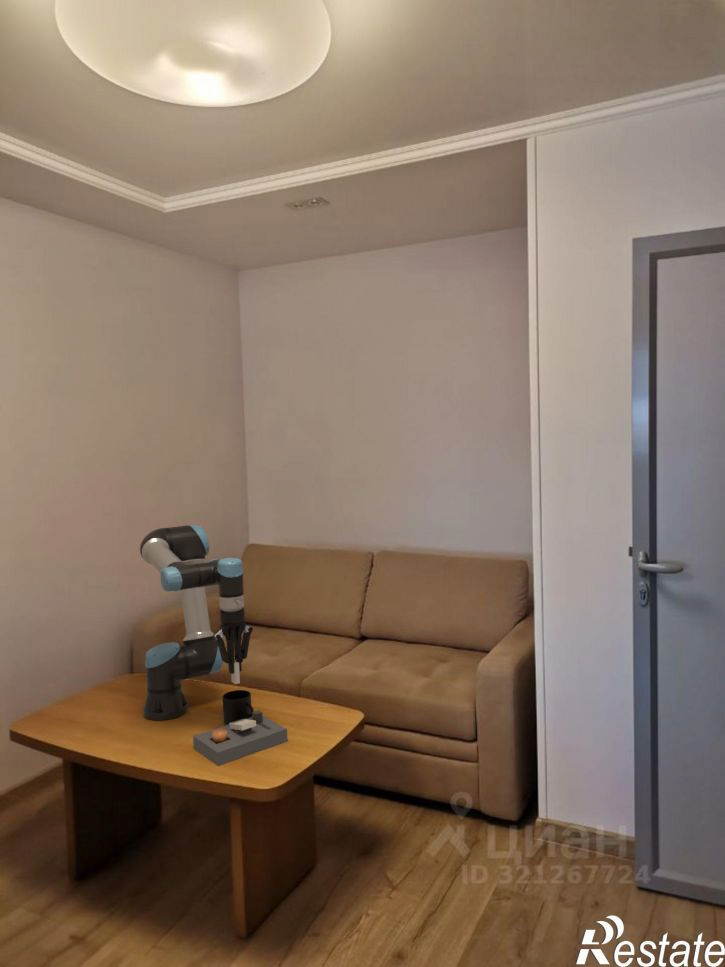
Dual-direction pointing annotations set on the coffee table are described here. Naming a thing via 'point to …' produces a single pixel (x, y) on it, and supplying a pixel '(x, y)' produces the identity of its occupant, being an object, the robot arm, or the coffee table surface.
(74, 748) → the coffee table surface
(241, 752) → the panel
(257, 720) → the slider
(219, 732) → the button
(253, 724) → the rocker
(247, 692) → the mug
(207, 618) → the robot arm
